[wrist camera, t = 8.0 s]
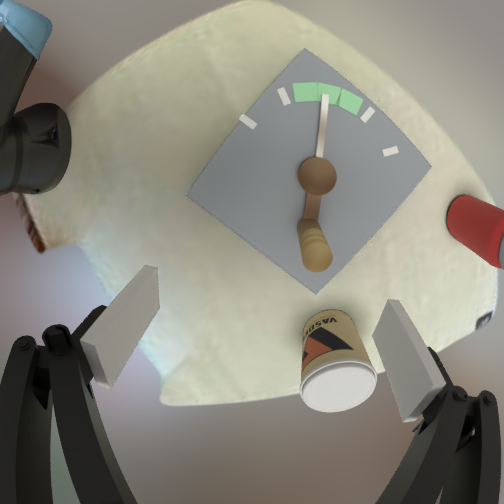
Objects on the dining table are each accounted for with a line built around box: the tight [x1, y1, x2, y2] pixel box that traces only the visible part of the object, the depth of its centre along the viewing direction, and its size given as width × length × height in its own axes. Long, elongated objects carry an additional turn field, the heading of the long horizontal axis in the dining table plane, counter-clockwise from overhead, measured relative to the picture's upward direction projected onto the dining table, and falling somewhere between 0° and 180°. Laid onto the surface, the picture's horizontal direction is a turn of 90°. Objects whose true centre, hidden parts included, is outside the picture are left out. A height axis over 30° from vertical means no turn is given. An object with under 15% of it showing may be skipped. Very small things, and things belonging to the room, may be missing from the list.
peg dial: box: [297, 94, 337, 273], centre depth 23 cm, size 16×4×9 cm, turn 175°
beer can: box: [447, 195, 504, 269], centre depth 24 cm, size 7×7×12 cm
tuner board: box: [186, 48, 432, 294], centre depth 29 cm, size 20×22×2 cm
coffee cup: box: [300, 310, 377, 412], centre depth 32 cm, size 9×9×12 cm
